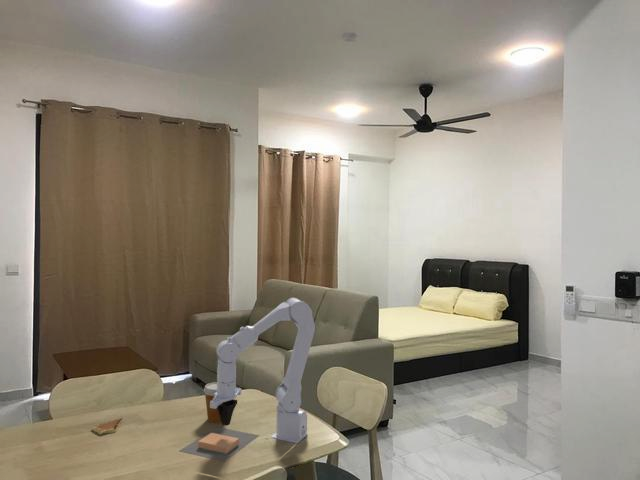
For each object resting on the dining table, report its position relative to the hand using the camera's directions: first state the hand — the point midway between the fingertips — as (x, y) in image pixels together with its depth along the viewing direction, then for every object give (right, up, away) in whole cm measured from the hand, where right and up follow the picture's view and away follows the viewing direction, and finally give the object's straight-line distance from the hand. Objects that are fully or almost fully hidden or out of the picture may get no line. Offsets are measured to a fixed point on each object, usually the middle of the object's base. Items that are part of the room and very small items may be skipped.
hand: (225, 424), depth 154 cm
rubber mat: (-1, -6, -1) cm, 6 cm away
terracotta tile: (0, -4, 0) cm, 4 cm away
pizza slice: (-41, -6, +10) cm, 43 cm away
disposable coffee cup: (-7, -6, +19) cm, 21 cm away
